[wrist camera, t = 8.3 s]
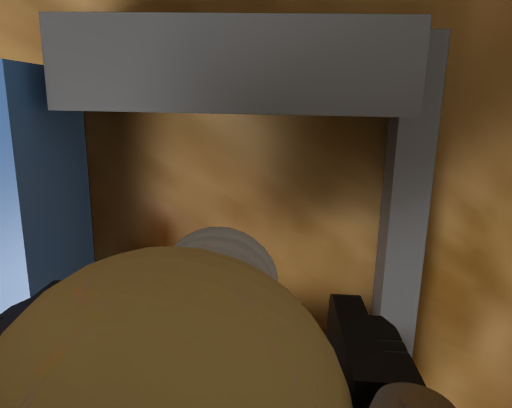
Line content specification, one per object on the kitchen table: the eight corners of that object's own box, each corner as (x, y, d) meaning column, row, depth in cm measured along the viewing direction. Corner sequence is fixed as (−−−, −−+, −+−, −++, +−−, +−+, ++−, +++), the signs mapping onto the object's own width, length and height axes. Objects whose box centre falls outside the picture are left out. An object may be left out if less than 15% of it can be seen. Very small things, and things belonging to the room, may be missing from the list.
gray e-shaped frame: (48, 32, 17) (-44, 4, 12) (435, 35, 16) (501, 7, 11) (98, 577, 24) (51, 698, 19) (373, 599, 23) (397, 732, 18)
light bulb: (351, 225, 13) (533, 542, 4) (274, 385, 15) (261, 909, 5) (163, 149, 13) (-165, 275, 4) (105, 319, 15) (-238, 737, 5)
